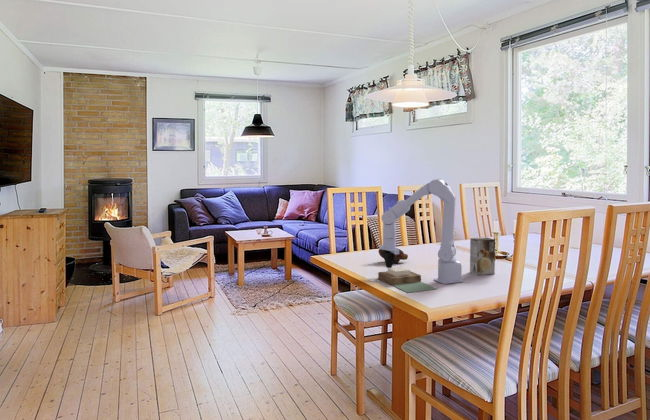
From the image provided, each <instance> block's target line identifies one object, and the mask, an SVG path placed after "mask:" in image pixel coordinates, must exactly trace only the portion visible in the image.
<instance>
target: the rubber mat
mask: <svg viewBox="0 0 650 420" xmlns="http://www.w3.org/2000/svg"><path fill="white" fill-rule="evenodd" d="M391 286H393V287H394V288H396V289H399V290H400V291H403V292H404V293H406V294H409V293H410V294H411V293H419V292H425V291H426V292H427V291H434V290H438V288H437V287H435V286H432V285H430V284H428V283H425V282H423V281H421V282H413V283H404V284H395V285H391Z"/></svg>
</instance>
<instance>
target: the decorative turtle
mask: <svg viewBox="0 0 650 420" xmlns="http://www.w3.org/2000/svg"><path fill="white" fill-rule="evenodd" d="M396 248H397V247H396ZM397 249H398V250H399V254H397V255H396V256H395V258H394V261H393V263H395V264H399V262H400V260H403V261H405V260H408V257H409V255H408V254H407V253H404V251H403V250H401V249H400V248H397ZM384 251H385V250H382V249H380V248H379V249H378V254H379V256H380V257H381V258H382V259H384V257H383V255H382V252H384Z"/></svg>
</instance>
